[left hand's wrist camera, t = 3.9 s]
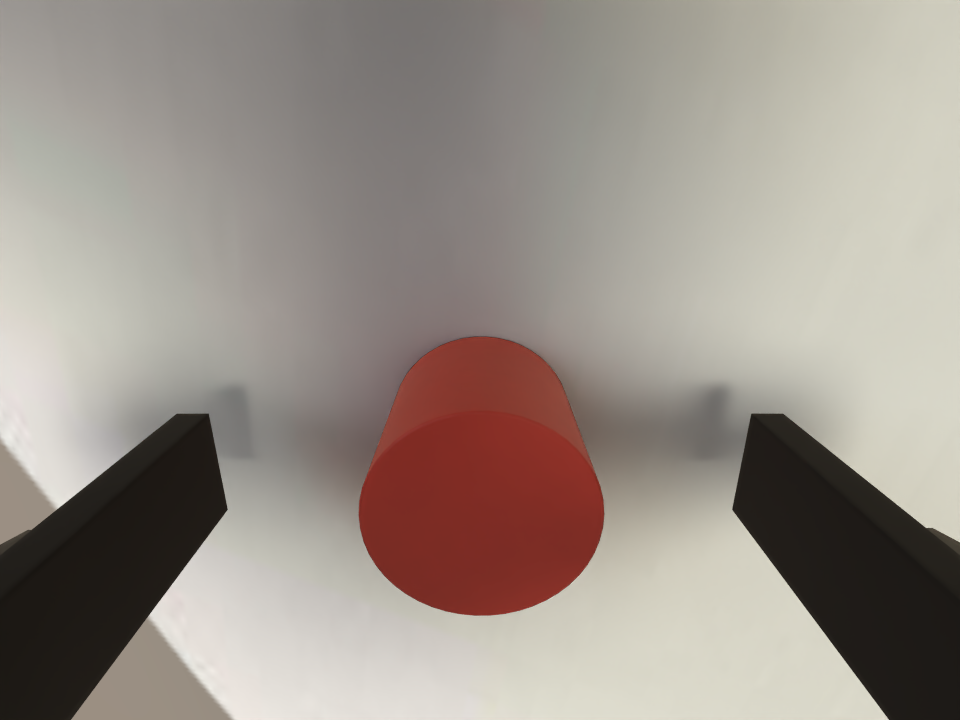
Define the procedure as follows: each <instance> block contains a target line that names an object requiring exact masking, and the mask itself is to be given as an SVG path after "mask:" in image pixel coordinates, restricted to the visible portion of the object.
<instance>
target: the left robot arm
mask: <svg viewBox="0 0 960 720" xmlns="http://www.w3.org/2000/svg"><path fill="white" fill-rule="evenodd" d="M227 510H228V509H227V504H226V499H225V494H224V489H223V483H222V478H221V473H220V468H219V463H218V458H217V453H216V448H215V443H214V438H213V433H212V428H211V423H210V418H209V414H176V415H175V416H174V417H172V418H171V419H170V420H169V421H167V422H166V423H165V424H164V425H162V426H161V427H160V428H159V429H157V430H156V431H155V432H154V433H152V434H151V435H150V436H149V437H147V438H146V439H145V440H144V441H142V442H141V443H140V444H139V445H137V446H136V447H135V448H134V449H132V450H131V451H130V452H129V453H127V454H126V455H125V456H124V457H122V458H121V459H120V460H119V461H117V462H116V463H115V464H114V465H112V466H111V467H110V468H109V469H107V470H106V471H105V472H104V473H102V474H101V475H100V476H99V477H97V478H96V479H95V480H94V481H92V482H91V483H90V484H89V485H87V486H86V487H85V488H84V489H82V490H81V491H80V492H79V493H77V494H76V495H75V496H74V497H72V498H71V499H70V500H69V501H67V502H66V503H65V504H64V505H62V506H61V507H60V508H59V509H57V510H56V511H55V512H54V513H52V514H51V515H50V516H48V517H47V518H46V519H45V520H43V521H42V522H41V523H40V524H38V525H37V526H36V527H35V528H33V529H32V530H27V531H25V532H23V533H21V534H20V535H18V536H16V537H14V538H12V539H10V540H8V541H6V542H5V543H3V544H1V545H0V720H71V719H72V718H73V716H74V715H75V714H76V712H77V711H78V710H79V708H80V707H81V705H82V704H83V703H84V701H85V700H86V699H87V697H88V696H89V695H90V693H91V692H92V691H93V689H94V688H95V687H96V685H97V684H98V683H99V681H100V680H101V679H102V677H103V676H104V675H105V673H106V672H107V671H108V669H109V668H110V667H111V665H112V664H113V663H114V661H115V660H116V659H117V657H118V656H119V655H120V653H121V652H122V651H123V649H124V648H125V647H126V645H127V644H128V642H129V641H130V640H131V639H132V637H133V636H134V634H135V633H136V632H137V630H138V629H139V628H140V626H141V625H142V624H143V622H144V621H145V620H146V618H147V617H148V616H149V614H150V613H151V612H152V610H153V609H154V608H155V606H156V605H157V604H158V602H159V601H160V600H161V598H162V597H163V596H164V594H165V593H166V592H167V590H168V589H169V588H170V586H171V585H172V584H173V582H174V581H175V580H176V578H177V577H178V576H179V574H180V573H181V572H182V570H183V569H184V567H185V566H186V565H187V563H188V562H189V561H190V559H191V558H192V557H193V555H194V554H195V553H196V551H197V550H198V549H199V547H200V546H201V545H202V543H203V542H204V541H205V539H206V538H207V537H208V535H209V534H210V533H211V531H212V530H213V529H214V527H215V526H216V525H217V523H218V522H219V521H220V519H221V518H222V517H223V515H224V514H225V513H226V511H227ZM732 510H733V511H734V513H735V514H736V515H737V517H738V518H739V519H740V521H741V522H742V523H743V525H744V526H745V527H746V529H747V530H748V531H749V533H750V534H751V535H752V537H753V538H754V539H755V541H756V542H757V543H758V545H759V546H760V547H761V549H762V550H763V551H764V553H765V554H766V555H767V557H768V558H769V559H770V561H771V562H772V563H773V565H774V566H775V567H776V569H777V570H778V572H779V573H780V574H781V576H782V577H783V578H784V580H785V581H786V582H787V584H788V585H789V586H790V588H791V589H792V590H793V592H794V593H795V594H796V596H797V597H798V598H799V600H800V601H801V602H802V604H803V605H804V606H805V608H806V609H807V610H808V612H809V613H810V614H811V616H812V617H813V618H814V620H815V621H816V622H817V624H818V625H819V626H820V628H821V629H822V630H823V632H824V633H825V634H826V636H827V637H828V639H829V640H830V641H831V643H832V644H833V645H834V647H835V648H836V649H837V651H838V652H839V653H840V655H841V656H842V657H843V659H844V660H845V661H846V663H847V664H848V665H849V667H850V668H851V669H852V671H853V672H854V673H855V675H856V676H857V677H858V679H859V680H860V681H861V683H862V684H863V685H864V687H865V688H866V689H867V691H868V692H869V693H870V695H871V696H872V697H873V699H874V700H875V701H876V703H877V704H878V706H879V707H880V708H881V710H882V711H883V712H884V714H885V715H886V716H887V718H888V719H889V720H960V542H958V541H956V540H954V539H952V538H950V537H948V536H947V535H945V534H943V533H941V532H939V531H937V530H935V529H933V528H925V527H924V526H923V525H922V524H920V523H919V522H918V521H917V520H915V519H914V518H913V517H911V516H910V515H909V514H908V513H906V512H905V511H904V510H903V509H901V508H900V507H899V506H898V505H896V504H895V503H894V502H893V501H891V500H890V499H889V498H888V497H886V496H885V495H884V494H883V493H881V492H880V491H879V490H878V489H876V488H875V487H874V486H873V485H871V484H870V483H869V482H868V481H866V480H865V479H864V478H863V477H861V476H860V475H859V474H858V473H856V472H855V471H854V470H853V469H851V468H850V467H849V466H848V465H846V464H845V463H844V462H843V461H841V460H840V459H839V458H838V457H836V456H835V455H834V454H833V453H831V452H830V451H829V450H828V449H826V448H825V447H824V446H823V445H821V444H820V443H819V442H818V441H816V440H815V439H814V438H813V437H811V436H810V435H809V434H808V433H806V432H805V431H804V430H803V429H801V428H800V427H799V426H798V425H796V424H795V423H794V422H793V421H791V420H790V419H789V418H788V417H786V416H785V415H784V414H751V418H750V423H749V428H748V433H747V438H746V443H745V448H744V453H743V458H742V463H741V468H740V473H739V478H738V483H737V488H736V494H735V499H734V504H733V509H732Z"/></svg>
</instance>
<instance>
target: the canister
mask: <svg viewBox="0 0 960 720" xmlns="http://www.w3.org/2000/svg"><path fill="white" fill-rule="evenodd" d="M603 522H604V501H603V496H602V492H601V487H600V484H599V482H598V479H597V476H596V474H595V471H594V468H593V466H592V463H591V460H590V458H589V455H588V452H587V450H586V447H585V444H584V442H583V439H582V436H581V434H580V431H579V428H578V426H577V423H576V420H575V418H574V415H573V412H572V410H571V407H570V404H569V402H568V399H567V396H566V394H565V391H564V389H563V386H562V384H561V382H560V380H559V379H558V377H557V375H556V374H555V372H554V371H553V370H552V369H551V367H550V366H549V365H548V364H547V363H546V362H545V361H544V360H543V359H542V358H541V357H539V356H538V355H536V354H535V353H534V352H532V351H531V350H529V349H527V348H525V347H523V346H522V345H519V344H516V343H514V342H511V341H508V340H504V339H500V338H492V337H470V338H463V339H459V340H455V341H451V342H449V343H446V344H444V345H441V346H439V347H437V348H435V349H434V350H432V351H430V352H429V353H427V354H426V355H425V356H423V357H422V358H421V359H420V360H419V361H418V362H417V363H416V364H415V365H414V366H413V367H412V368H411V369H410V371H409V372H408V373H407V375H406V376H405V378H404V380H403V381H402V383H401V385H400V388H399V390H398V393H397V395H396V398H395V401H394V404H393V406H392V409H391V412H390V414H389V417H388V420H387V422H386V425H385V428H384V430H383V433H382V436H381V439H380V441H379V444H378V447H377V449H376V452H375V455H374V457H373V460H372V463H371V465H370V468H369V471H368V474H367V476H366V479H365V482H364V484H363V487H362V491H361V496H360V500H359V523H360V530H361V533H362V537H363V541H364V544H365V546H366V548H367V551H368V553H369V555H370V557H371V558H372V560H373V561H374V563H375V565H376V566H377V567H378V569H379V570H380V571H381V572H382V574H383V575H384V576H385V577H386V578H387V579H388V580H389V581H390V582H391V583H392V584H393V585H395V586H396V587H397V588H399V589H400V590H401V591H403V592H404V593H405V594H407V595H409V596H410V597H412V598H414V599H416V600H417V601H419V602H422V603H424V604H426V605H429V606H431V607H434V608H437V609H440V610H443V611H447V612H452V613H457V614H464V615H475V616H477V615H498V614H506V613H511V612H516V611H520V610H523V609H526V608H529V607H532V606H535V605H537V604H539V603H541V602H544V601H546V600H547V599H549V598H551V597H553V596H554V595H556V594H558V593H559V592H560V591H562V590H563V589H564V588H566V587H567V586H568V585H570V584H571V583H572V582H573V581H574V580H575V579H576V578H577V577H578V576H579V575H580V574H581V572H582V571H583V570H584V569H585V567H586V566H587V565H588V563H589V561H590V560H591V558H592V556H593V555H594V553H595V551H596V548H597V546H598V543H599V541H600V537H601V533H602V529H603Z"/></svg>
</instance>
